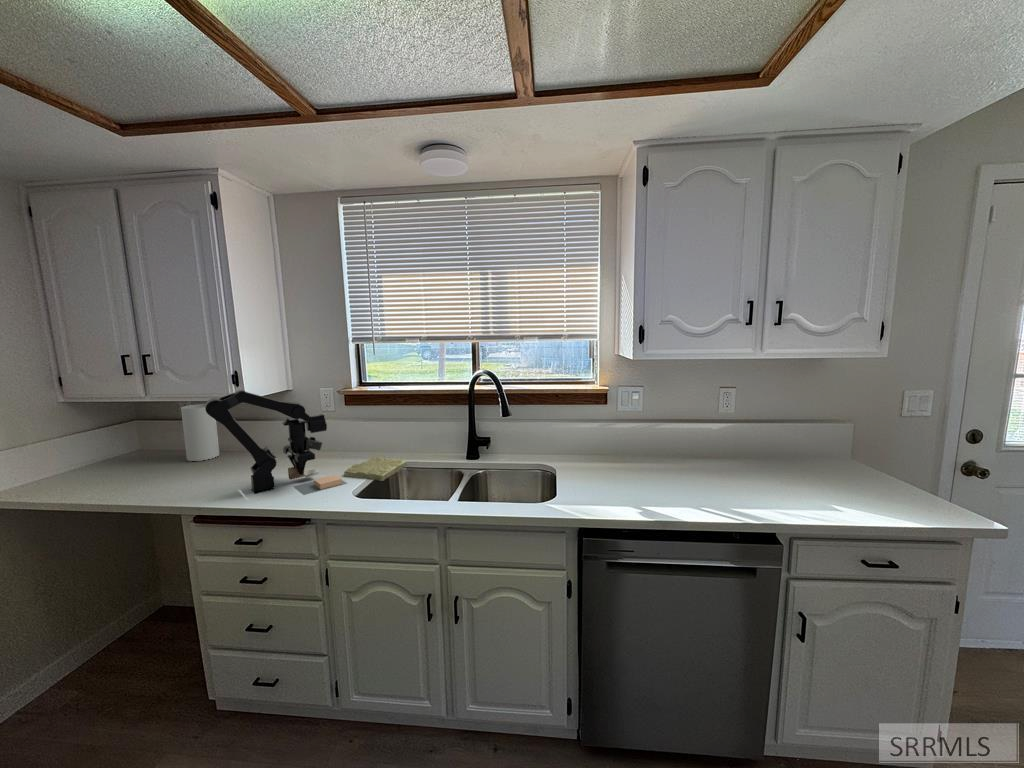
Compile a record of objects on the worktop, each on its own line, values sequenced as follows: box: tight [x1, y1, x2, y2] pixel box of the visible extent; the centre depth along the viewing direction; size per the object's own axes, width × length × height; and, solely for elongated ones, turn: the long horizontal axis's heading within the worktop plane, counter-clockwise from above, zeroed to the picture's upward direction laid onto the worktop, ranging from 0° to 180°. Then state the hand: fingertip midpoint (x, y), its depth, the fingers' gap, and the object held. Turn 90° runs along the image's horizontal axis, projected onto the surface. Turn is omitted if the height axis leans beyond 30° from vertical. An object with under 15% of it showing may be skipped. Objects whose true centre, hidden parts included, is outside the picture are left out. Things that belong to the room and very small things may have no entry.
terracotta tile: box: [313, 474, 343, 490], centre depth 158 cm, size 2×7×8 cm
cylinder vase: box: [180, 403, 220, 462], centre depth 194 cm, size 12×12×25 cm
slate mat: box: [292, 479, 348, 496], centre depth 158 cm, size 16×12×1 cm
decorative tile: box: [343, 457, 408, 482], centre depth 175 cm, size 19×20×4 cm
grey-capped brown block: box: [287, 466, 320, 481], centre depth 163 cm, size 10×5×4 cm, turn 134°
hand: (300, 473), depth 162 cm, fingers closed on grey-capped brown block, 2 cm apart
